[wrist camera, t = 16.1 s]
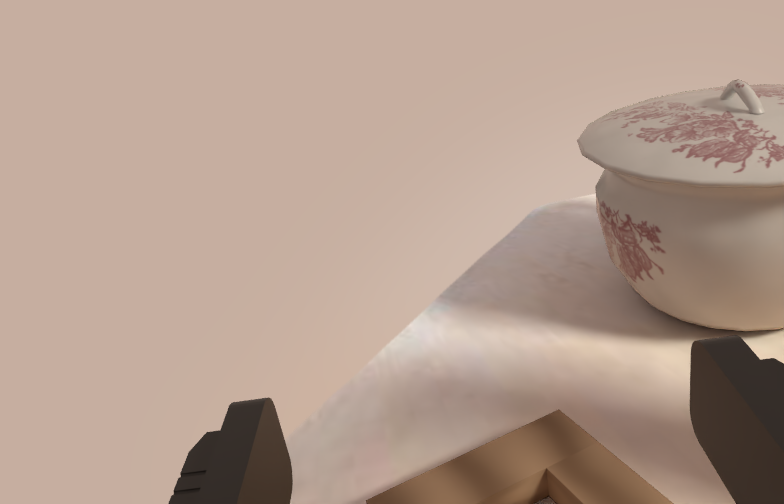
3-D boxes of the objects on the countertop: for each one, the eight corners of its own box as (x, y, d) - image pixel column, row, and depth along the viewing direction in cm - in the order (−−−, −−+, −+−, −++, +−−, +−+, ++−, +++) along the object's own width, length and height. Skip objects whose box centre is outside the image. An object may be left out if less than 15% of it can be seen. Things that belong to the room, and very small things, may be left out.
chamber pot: (796, 423, 49) (824, 150, 41) (529, 301, 71) (510, 106, 63) (967, 279, 62) (1016, 47, 53) (695, 213, 84) (699, 40, 75)
